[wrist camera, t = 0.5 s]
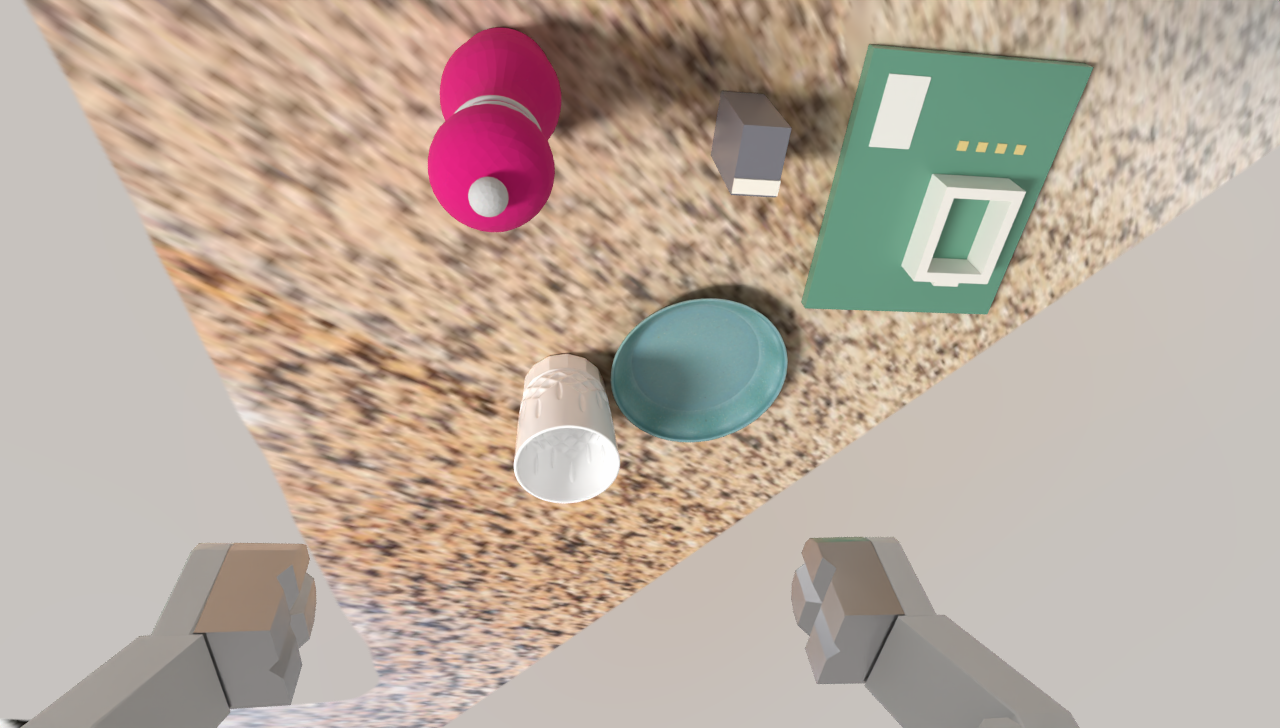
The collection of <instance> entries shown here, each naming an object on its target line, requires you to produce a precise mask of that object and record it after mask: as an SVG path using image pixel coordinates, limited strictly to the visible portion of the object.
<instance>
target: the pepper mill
mask: <svg viewBox="0 0 1280 728" xmlns="http://www.w3.org/2000/svg"><path fill="white" fill-rule="evenodd" d="M440 105H441V109H442V113H443V116H444V118H445V122H444V123H443V124H442V125H441V126H440V128H439V129H438V131H437V132H436V134H435V136H434V139H433V141H432V143H431V146H430V150H429V156H428V174H429V180H430V184H431V187H432V189H433V192H434V194H435V196H436V197H437V199H438V201H439V202H440V204H441V205H442V206H443V208H444V209H445V210H446V211H447V212H448V213H449V214H450V215H451V216H452V217H454V218H455V219H456V220H458V221H459V222H461V223H463V224H465V225H466V226H468V227H471V228H474V229H477V230H480V231H486V232H504V231H509V230H512V229H515V228H517V227H520V226H522V225H523V224H525V223H527V222H528V221H530V220H531V219H532V218H533V217H534V216H536V215H537V214H538V213H539V212H540V210H541V209H542V208H543V206H544V205H545V203H546V202H547V200H548V198H549V196H550V193H551V190H552V187H553V182H554V175H555V168H554V160H553V155H552V152H551V149H550V146H549V143H548V139H549V138H550V136H551V135H552V133H553V132H554V130H555V127H556V125H557V123H558V119H559V115H560V110H561V89H560V84H559V80H558V78H557V75H556V72H555V71H554V69H553V67H552V65H551V63H550V62H549V61H548V59H547V57H546V55H545V53H544V52H543V50H542V49H541V48H540V47H539V45H538V44H537V43H536V42H535V41H534V40H533V39H531V38H530V37H528V36H527V35H525V34H523V33H521V32H519V31H517V30H514V29H509V28H491V29H487V30H483V31H481V32H479V33H477V34H476V35H474V36H473V37H472V38H471V39H469V40H468V41H467V42H466V43H464V44H463V45H462V46H461V47H459V48H458V49H457V50H456V51H455V52H454V54H453V55H452V56H451V57H450V59H449V61H448V62H447V64H446V66H445V69H444V71H443V74H442V79H441V85H440Z"/></svg>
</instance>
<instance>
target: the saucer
mask: <svg viewBox="0 0 1280 728" xmlns="http://www.w3.org/2000/svg"><path fill="white" fill-rule="evenodd" d="M787 366H788V358H787V351H786V347H785V344H784V341H783V339H782V336H781V335H780V333H779V331H778V330H777V328H776V327H775V326H774V324H773V323H772V322H771V321H770V320H769V319H768V318H767V317H765V316H764V315H763V314H761V313H760V312H758V311H757V310H755V309H753V308H751V307H749V306H747V305H744V304H741V303H738V302H735V301H731V300H726V299H717V298H703V299H693V300H687V301H683V302H679V303H676V304H673V305H670V306H667V307H665V308H663V309H661V310H659V311H657V312H655V313H653V314H652V315H650V316H649V317H647V318H646V319H644V320H643V321H642V322H641V323H639V324H638V325H637V326H636V327H635V328H634V329H633V330H632V331H631V332H630V333H629V334H628V335H627V337H626V338H625V339H624V341H623V342H622V344H621V345H620V347H619V349H618V351H617V353H616V355H615V358H614V360H613V364H612V369H611V387H612V392H613V396H614V399H615V401H616V403H617V405H618V407H619V408H620V410H621V412H622V413H623V414H624V415H625V417H626V418H627V419H628V420H629V421H630V422H631V423H633V424H634V425H635V426H636V427H638V428H639V429H641V430H643V431H644V432H646V433H648V434H650V435H653V436H655V437H658V438H661V439H665V440H670V441H677V442H701V441H709V440H713V439H717V438H720V437H724V436H726V435H729V434H732V433H734V432H736V431H738V430H740V429H742V428H744V427H746V426H747V425H749V424H751V423H752V422H753V421H755V420H756V419H757V418H759V417H760V416H761V415H762V414H763V413H764V412H765V411H766V410H767V409H768V408H769V407H770V406H771V404H772V403H773V402H774V401H775V399H776V398H777V396H778V395H779V393H780V391H781V389H782V387H783V384H784V381H785V378H786V374H787Z"/></svg>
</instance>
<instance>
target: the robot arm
mask: <svg viewBox="0 0 1280 728" xmlns="http://www.w3.org/2000/svg"><path fill="white" fill-rule="evenodd" d="M802 555H803V558H804V561H805V564H803V565H802V566H801V567H800V568H798V569H797V570H796V571H795V574H794V578H793V581H792V596H791V600H792V606H793V612H794V615H795V619H796V622H797V625H798V626H799V627H800V628H801V629H802V630H803V631H805V632H806V633H807V634H808V635H809V639H808V642H807V644H806V647H805V650H806V653H807V656H808V659H809V662H810V665H811V668H812V671H813V674H814V677H815V680H816V683H817V684H842V683H843V684H845V683H866V684H865V687H866V688H867V689H868V690H869V691H870V692H871V693H872V695H874V697H875V698H876V699H877V700H878V701H879V702H880V703H881V704H882V705H883V706H884V708H885V709H886V710H887V711H888V712H889V713H890V714H891V715H892V716H893V717H894V718H895V719H896V721H897V722H898V723H899V724H900V725H901V726H902V727H903V728H1079V726H1078V725H1077V723H1076V721H1075V719H1074V718H1073V716H1072V714H1071V713H1070V712H1069V711H1068V710H1066V709H1065V708H1064V707H1062V706H1061V705H1060V704H1058V703H1057V702H1056V701H1055V700H1053V699H1052V698H1051V697H1050V696H1048V695H1047V694H1046V693H1044V692H1043V691H1042V690H1041V689H1039V688H1038V687H1037V686H1035V685H1034V684H1033V683H1032V682H1030V681H1029V680H1028V679H1026V678H1025V677H1024V676H1023V675H1021V674H1020V673H1019V672H1017V671H1016V670H1015V669H1013V668H1012V667H1011V666H1010V665H1008V664H1007V663H1006V662H1005V661H1003V660H1002V659H1001V658H999V657H998V656H997V655H996V654H994V653H993V652H992V651H990V650H989V649H988V648H987V647H985V646H984V645H983V644H981V643H980V642H979V641H977V640H976V639H975V638H974V637H972V636H971V635H970V634H969V633H967V632H966V631H965V630H963V629H962V628H961V627H960V626H958V625H957V624H956V623H954V622H953V621H952V620H951V619H949V618H948V617H947V616H945V615H936V613H935V611H934V609H933V607H932V605H931V603H930V601H929V599H928V597H927V595H926V593H925V591H924V589H923V587H922V586H921V584H920V582H919V580H918V578H917V576H916V574H915V572H914V570H913V568H912V566H911V564H910V562H909V561H908V558H907V556H906V554H905V552H904V551H903V549H902V547H901V545H900V543H899V541H898V540H897V539H895V538H894V537H865V538H863V537H835V538H810V539H809V540H808V541H807V542H806V543H805V545H804V548H803V550H802ZM309 560H310V558H309V554H308V550H307V546H306V545H304V544H274V543H273V544H271V543H199V544H198V545H197V546H196V547H195V548H194V549H193V550H192V551H191V553H190V555H189V557H188V559H187V561H186V563H185V565H184V567H183V569H182V572H181V574H180V576H179V578H178V580H177V582H176V584H175V586H174V588H173V590H172V592H171V594H170V597H169V598H168V601H167V603H166V605H165V607H164V609H163V611H162V613H161V615H160V617H159V619H158V621H157V623H156V626H155V628H154V630H153V632H152V634H151V635H150V636H139V637H138V638H137V639H136V640H134V641H133V642H132V643H130V644H129V645H128V646H126V647H125V648H124V649H122V650H121V651H120V652H118V653H117V654H116V655H115V656H113V657H112V658H111V659H109V660H108V661H107V662H105V663H104V664H103V665H101V666H100V667H99V668H98V669H96V670H95V671H94V672H92V673H91V674H90V675H89V676H87V677H86V678H85V679H83V680H82V681H81V682H79V683H78V684H77V685H76V686H74V687H73V688H72V689H70V690H69V691H68V692H66V693H65V694H64V695H63V696H61V697H60V698H59V699H57V700H56V701H55V702H53V703H52V704H51V705H50V706H48V707H47V708H46V709H44V710H43V711H42V712H40V713H39V714H38V715H37V716H35V717H34V718H33V719H31V720H30V721H29V722H27V723H26V724H25V725H24V726H22V727H21V728H217V727H218V725H219V724H220V723H221V722H222V721H223V720H224V719H225V718H226V717H227V716H228V715H229V713H230V709H237V708H252V707H267V706H282V705H291V702H292V698H293V695H294V692H295V688H296V685H297V681H298V678H299V674H300V671H301V667H302V662H301V658H300V654H299V648H300V647H301V646H302V645H303V644H304V643H305V642H307V641H308V640H309V639H310V635H311V631H312V627H313V624H314V617H315V610H316V587H315V582H314V578H313V577H312V576H310V575H309V574H308V573H306V570H307V567H308V564H309Z"/></svg>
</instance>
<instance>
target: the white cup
mask: <svg viewBox="0 0 1280 728" xmlns="http://www.w3.org/2000/svg"><path fill="white" fill-rule="evenodd" d="M619 468H620V456H619V451H618V446H617V441H616V436H615V430H614V425H613V420H612V415H611V411H610V406H609V402H608V398H607V395H606V392H605V386H604V381H603V379H602V377H601V374H600V372H599V370H598V368H597V367H596V366H594V365H593V364H592V363H591V362H589V361H588V360H587V359H585V358H583V357H579V356H575V355H571V354H561V355H553V356H548V357H547V358H545V359H543V360H541V361H539V362H538V363H536V364H534V365H533V367H532V368H531V370H530V371H529V373H528V374H527V375H526V377H525V383H524V393H523V399H522V402H521V407H520V413H519V421H518V427H517V439H516V448H515V458H514V472H515V476H516V478H517V480H518V482H519V483H520V485H521V486H522V487H523V488H524V489H525V490H526V491H527V492H529V493H530V494H532V495H533V496H535V497H537V498H539V499H542V500H545V501H549V502H554V503H575V502H581V501H584V500H588V499H590V498H593V497H595V496H597V495H599V494H600V493H602V492H603V491H605V490H606V489H607V488H608V487H609V486H610V485H611V484H612V483H613V482H614V480H615V478H616V477H617V475H618V472H619Z"/></svg>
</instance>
